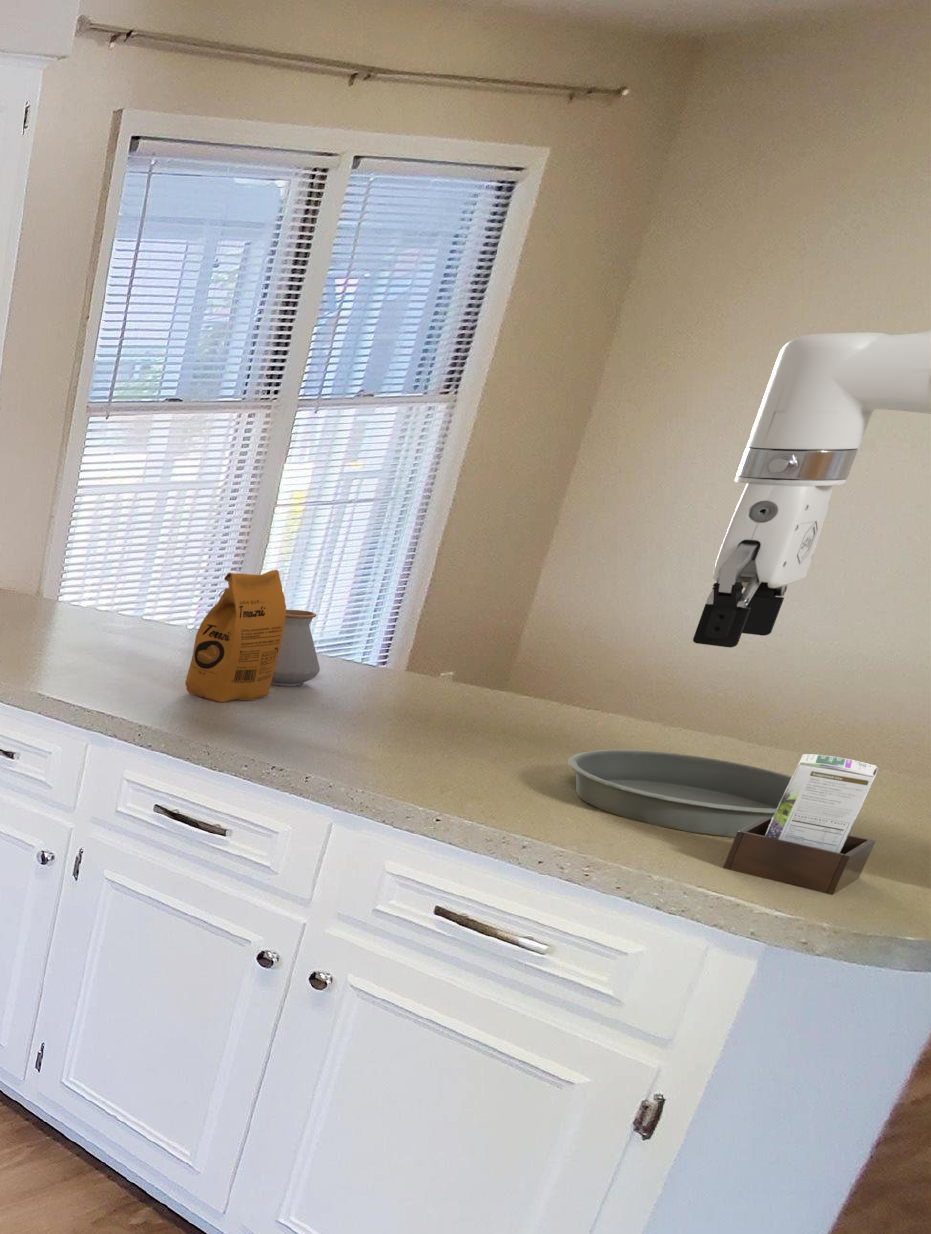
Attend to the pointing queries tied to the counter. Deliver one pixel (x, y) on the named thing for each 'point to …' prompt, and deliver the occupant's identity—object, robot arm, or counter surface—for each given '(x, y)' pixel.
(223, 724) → the counter surface
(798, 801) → the syrup box
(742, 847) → the caddy
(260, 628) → the coffee package
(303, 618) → the coffee pot
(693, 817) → the cake pan
